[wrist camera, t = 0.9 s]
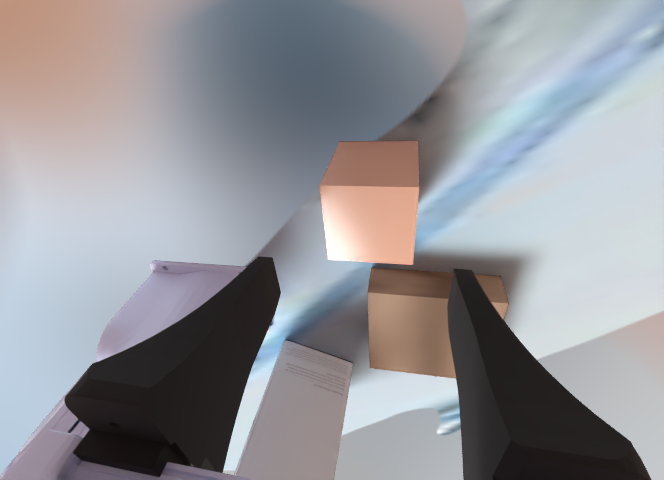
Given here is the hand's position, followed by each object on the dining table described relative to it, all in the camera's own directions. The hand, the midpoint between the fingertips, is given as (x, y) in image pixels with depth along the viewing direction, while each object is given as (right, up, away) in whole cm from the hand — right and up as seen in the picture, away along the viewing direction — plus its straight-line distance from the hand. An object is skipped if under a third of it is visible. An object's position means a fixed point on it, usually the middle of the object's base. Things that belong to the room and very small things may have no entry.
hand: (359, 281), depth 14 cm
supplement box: (-3, -12, +22) cm, 25 cm away
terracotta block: (+2, +6, +7) cm, 9 cm away
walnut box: (+7, -4, +14) cm, 16 cm away
